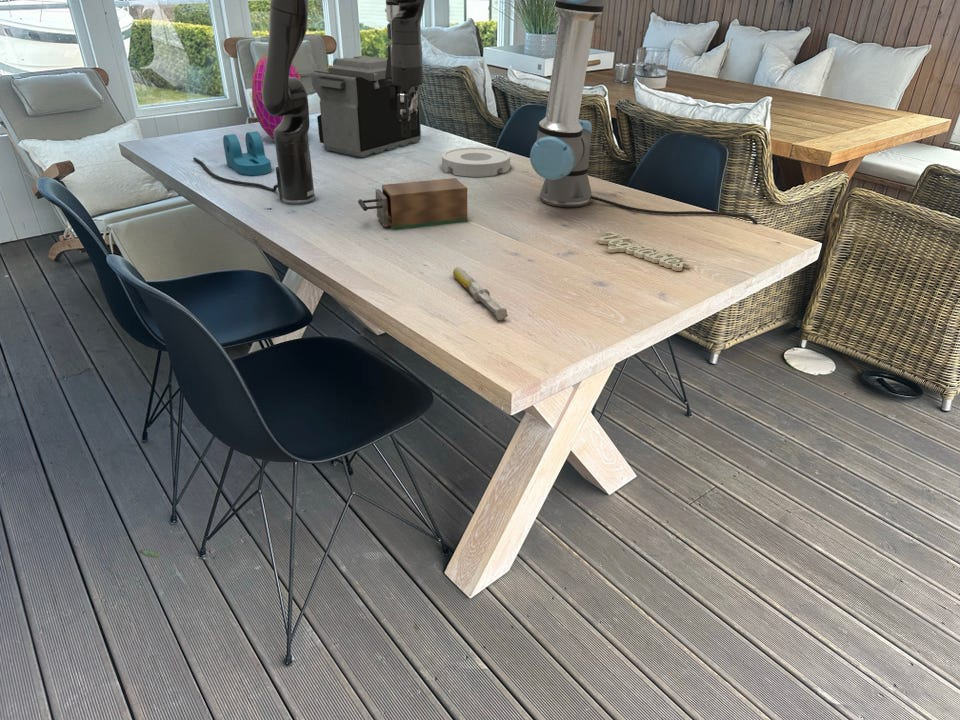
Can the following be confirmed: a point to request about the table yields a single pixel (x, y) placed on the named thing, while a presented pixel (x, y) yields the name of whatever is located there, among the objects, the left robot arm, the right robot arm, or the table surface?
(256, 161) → the camera mount
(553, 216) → the table surface
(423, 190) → the cabinet
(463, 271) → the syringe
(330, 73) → the electronic device
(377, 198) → the drawer
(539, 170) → the right robot arm
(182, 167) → the table surface
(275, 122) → the decorative egg
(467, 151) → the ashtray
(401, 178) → the table surface
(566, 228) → the table surface
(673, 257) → the decorative sign
